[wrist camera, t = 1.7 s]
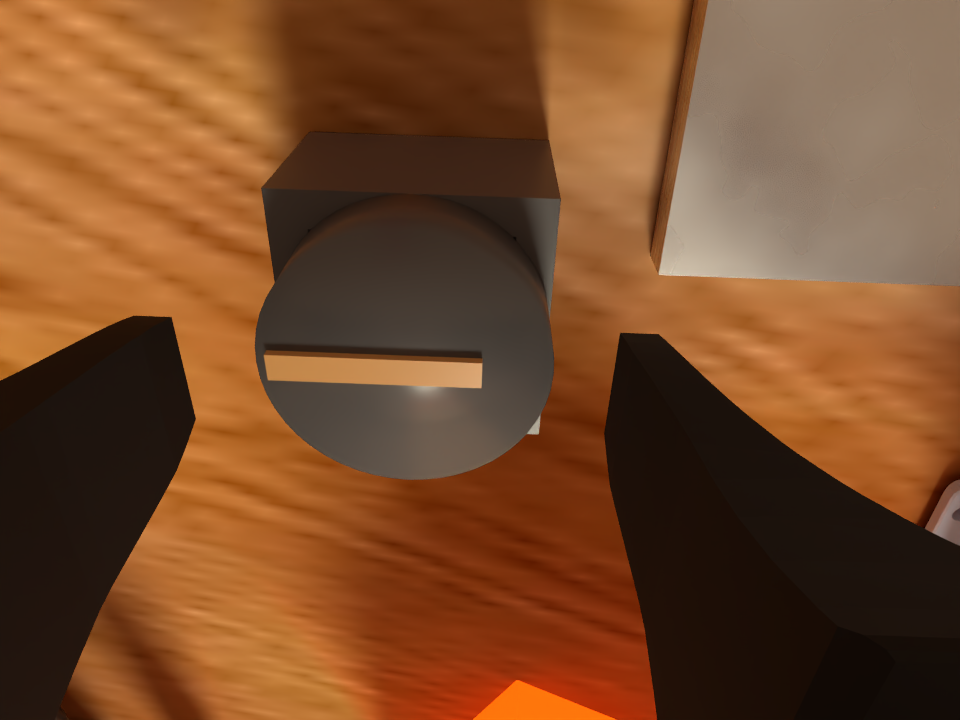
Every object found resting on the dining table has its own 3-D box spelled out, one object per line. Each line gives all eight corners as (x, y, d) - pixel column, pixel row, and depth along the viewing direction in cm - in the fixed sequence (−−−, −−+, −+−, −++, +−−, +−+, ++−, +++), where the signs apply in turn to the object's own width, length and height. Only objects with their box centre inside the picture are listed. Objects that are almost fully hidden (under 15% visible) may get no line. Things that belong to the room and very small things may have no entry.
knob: (548, 140, 15) (569, 238, 10) (532, 345, 17) (542, 490, 13) (308, 131, 15) (229, 226, 10) (330, 337, 17) (273, 479, 13)
